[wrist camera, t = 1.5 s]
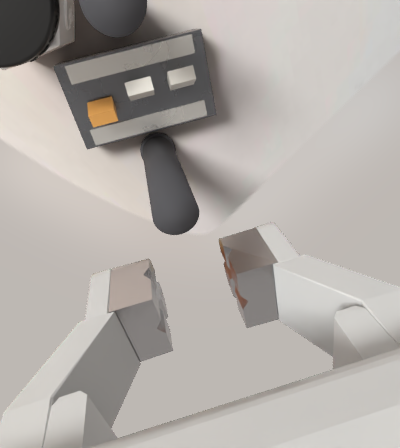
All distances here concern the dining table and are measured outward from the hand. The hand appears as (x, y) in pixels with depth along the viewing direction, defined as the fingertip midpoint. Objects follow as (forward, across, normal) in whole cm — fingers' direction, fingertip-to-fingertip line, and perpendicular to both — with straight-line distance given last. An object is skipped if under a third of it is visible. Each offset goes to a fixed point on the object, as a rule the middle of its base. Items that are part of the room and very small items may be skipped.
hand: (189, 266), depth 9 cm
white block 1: (+28, 0, 0) cm, 28 cm away
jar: (+31, +8, -9) cm, 33 cm away
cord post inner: (+31, 0, -7) cm, 32 cm away
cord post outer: (+31, 0, +7) cm, 32 cm away
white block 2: (+28, -4, 0) cm, 28 cm away
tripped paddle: (+28, +4, 0) cm, 28 cm away
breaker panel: (+31, 0, 0) cm, 31 cm away
